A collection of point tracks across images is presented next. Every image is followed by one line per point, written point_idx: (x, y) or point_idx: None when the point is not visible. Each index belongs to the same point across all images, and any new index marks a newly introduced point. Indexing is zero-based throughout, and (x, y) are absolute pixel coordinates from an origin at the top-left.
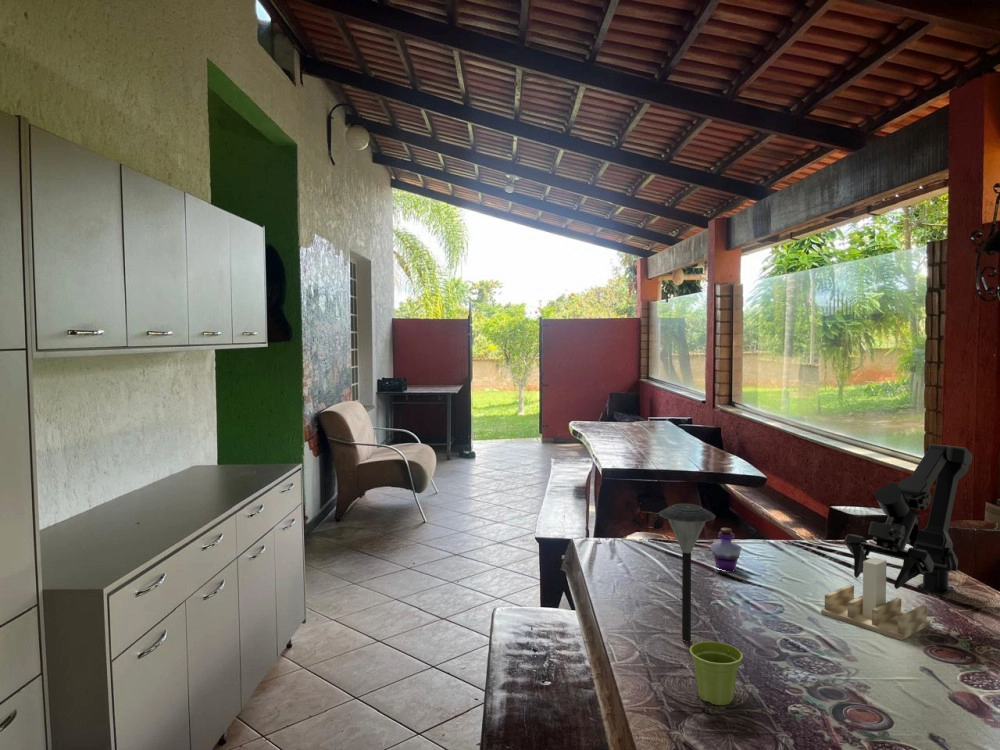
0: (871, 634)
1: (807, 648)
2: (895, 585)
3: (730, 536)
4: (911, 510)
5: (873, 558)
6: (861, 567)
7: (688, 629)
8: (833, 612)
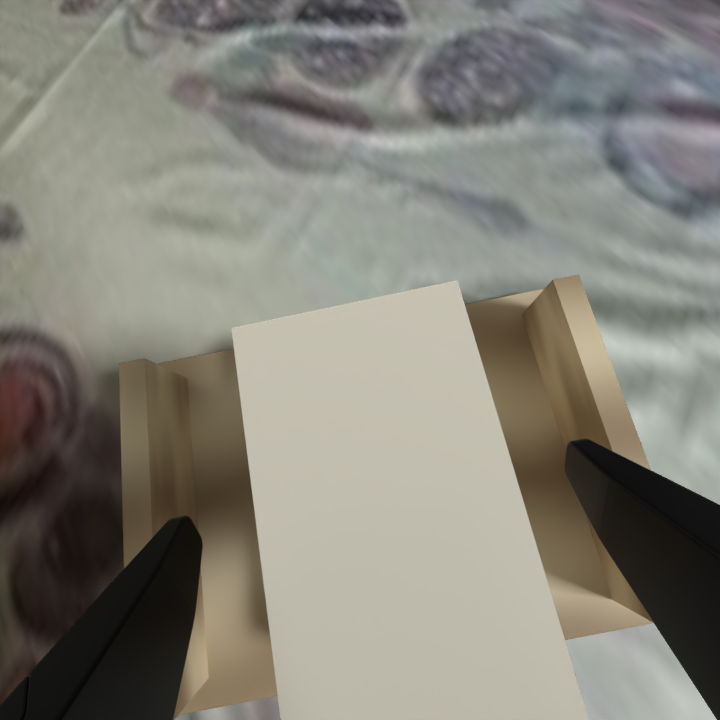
0: (272, 308)
1: (310, 32)
2: (171, 520)
3: None
4: None
5: (523, 647)
6: (671, 612)
7: None
8: (490, 312)
